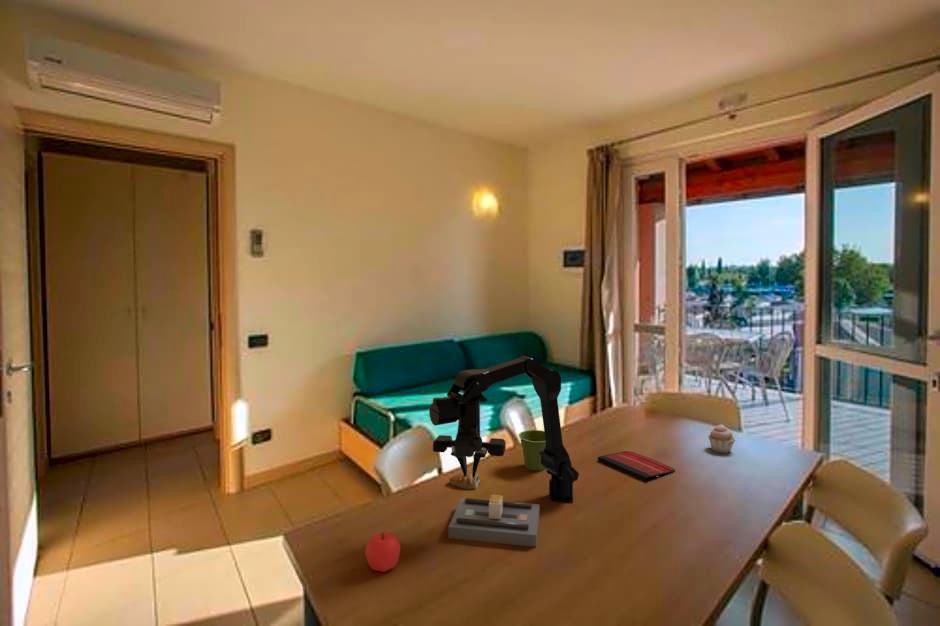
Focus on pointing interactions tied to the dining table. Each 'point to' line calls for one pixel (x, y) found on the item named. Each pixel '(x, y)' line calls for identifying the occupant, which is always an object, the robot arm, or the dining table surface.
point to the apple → (383, 551)
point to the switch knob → (495, 506)
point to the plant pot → (533, 448)
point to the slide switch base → (495, 523)
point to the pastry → (465, 481)
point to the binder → (636, 465)
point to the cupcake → (721, 439)
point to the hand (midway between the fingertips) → (469, 476)
